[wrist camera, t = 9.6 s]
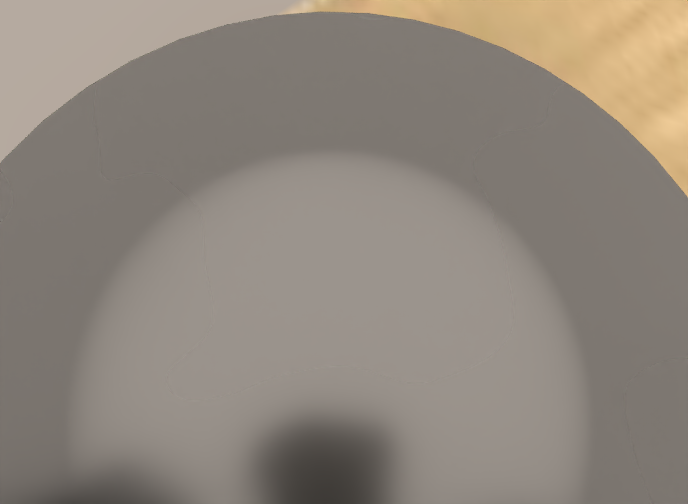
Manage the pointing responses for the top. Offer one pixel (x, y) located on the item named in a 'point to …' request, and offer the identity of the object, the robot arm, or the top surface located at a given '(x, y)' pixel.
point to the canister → (340, 281)
